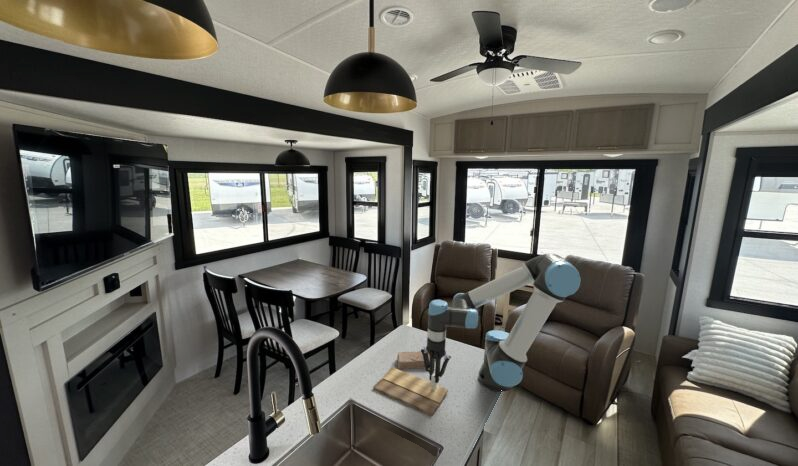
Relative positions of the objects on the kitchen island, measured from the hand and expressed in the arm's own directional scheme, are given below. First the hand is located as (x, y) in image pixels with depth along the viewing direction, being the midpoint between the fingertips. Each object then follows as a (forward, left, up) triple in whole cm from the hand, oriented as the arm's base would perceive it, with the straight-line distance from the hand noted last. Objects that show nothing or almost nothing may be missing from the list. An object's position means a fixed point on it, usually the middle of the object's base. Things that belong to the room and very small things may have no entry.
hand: (433, 387), depth 131 cm
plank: (+9, +1, -2) cm, 9 cm away
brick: (+17, -14, -3) cm, 22 cm away
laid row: (+9, +9, -2) cm, 13 cm away
